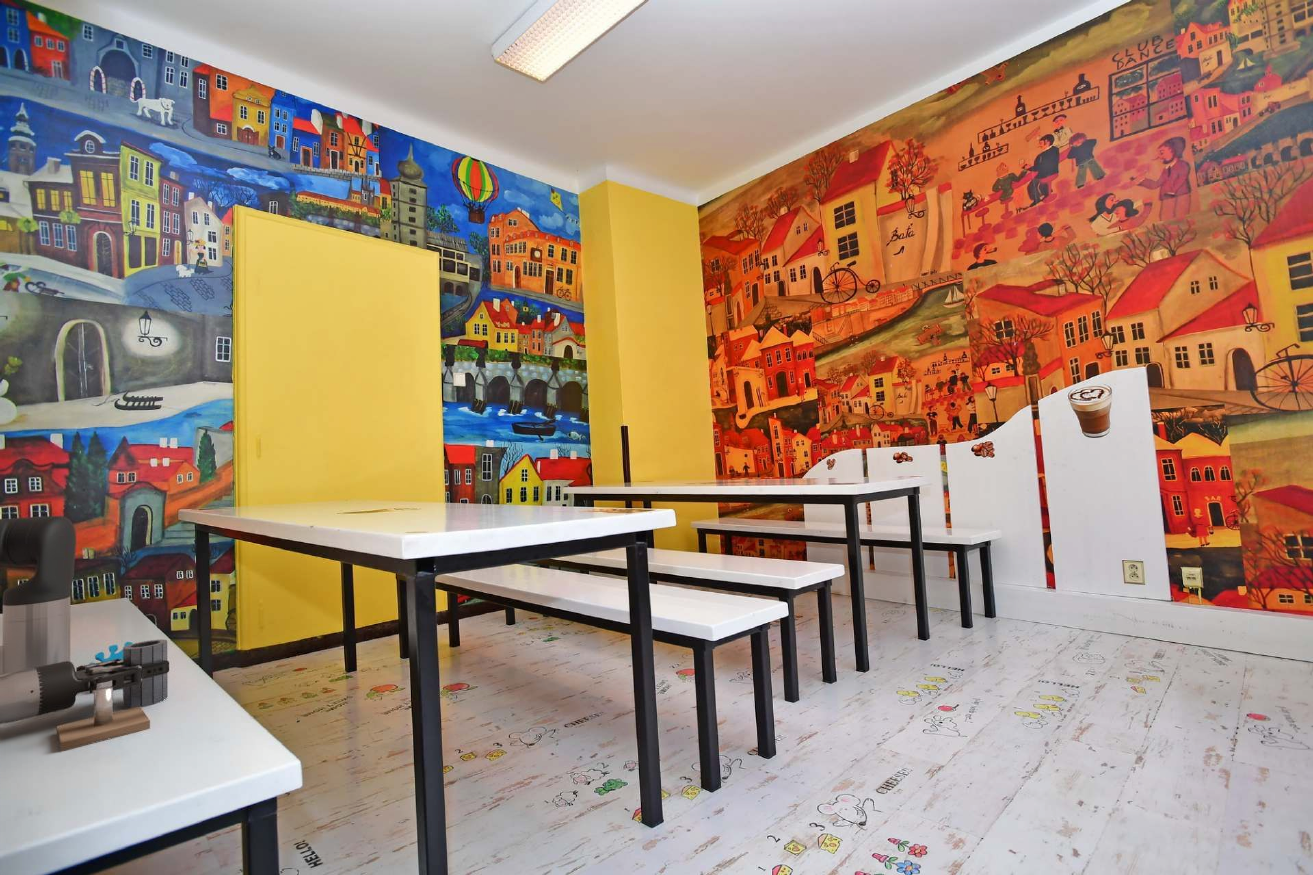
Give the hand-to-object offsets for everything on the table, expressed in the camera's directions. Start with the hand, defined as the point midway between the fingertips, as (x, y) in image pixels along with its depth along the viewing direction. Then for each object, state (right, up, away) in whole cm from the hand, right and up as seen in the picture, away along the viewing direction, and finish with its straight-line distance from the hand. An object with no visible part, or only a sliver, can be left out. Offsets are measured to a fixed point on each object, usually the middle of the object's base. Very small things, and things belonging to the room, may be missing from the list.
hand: (161, 663), depth 112 cm
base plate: (+3, -5, -15) cm, 16 cm away
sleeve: (-1, -6, -2) cm, 6 cm away
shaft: (+3, -4, -15) cm, 16 cm away
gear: (-14, -8, +9) cm, 18 cm away
